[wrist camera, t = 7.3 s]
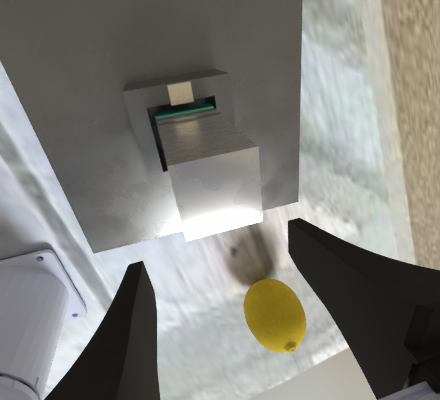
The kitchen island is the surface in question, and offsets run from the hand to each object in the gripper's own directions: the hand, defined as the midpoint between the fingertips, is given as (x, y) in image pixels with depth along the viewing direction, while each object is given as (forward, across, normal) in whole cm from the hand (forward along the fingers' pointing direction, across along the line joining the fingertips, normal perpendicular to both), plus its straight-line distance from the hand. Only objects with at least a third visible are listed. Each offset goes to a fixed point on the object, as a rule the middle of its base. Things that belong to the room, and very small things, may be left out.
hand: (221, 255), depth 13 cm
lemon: (+11, -5, +15) cm, 19 cm away
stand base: (+10, 0, -4) cm, 11 cm away
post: (+6, 0, -4) cm, 7 cm away
